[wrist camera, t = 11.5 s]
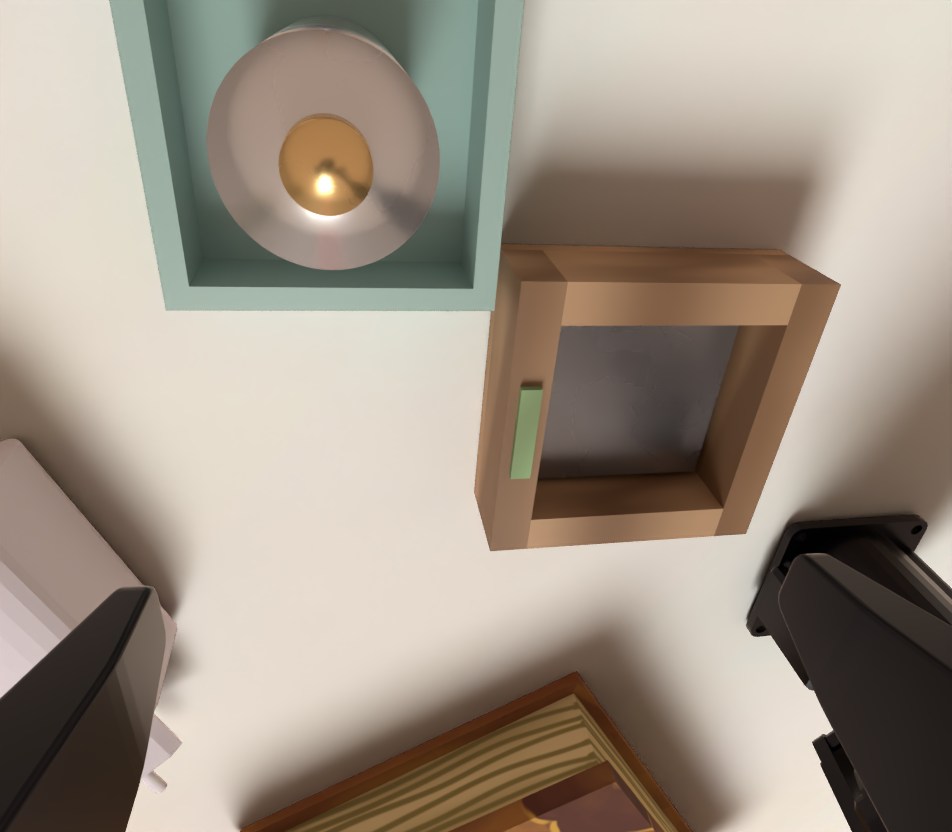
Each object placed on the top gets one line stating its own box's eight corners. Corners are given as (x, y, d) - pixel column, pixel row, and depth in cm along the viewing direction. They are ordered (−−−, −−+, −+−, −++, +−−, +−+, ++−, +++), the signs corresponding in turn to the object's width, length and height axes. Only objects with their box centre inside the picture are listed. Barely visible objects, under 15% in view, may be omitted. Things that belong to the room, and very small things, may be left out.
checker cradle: (780, 249, 21) (845, 287, 18) (705, 480, 25) (748, 537, 23) (497, 244, 19) (523, 284, 16) (474, 492, 24) (491, 555, 21)
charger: (53, 772, 28) (-263, 526, 20) (258, 702, 28) (28, 426, 20) (6, 899, 24) (-414, 658, 16) (245, 818, 24) (-51, 534, 16)
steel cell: (405, 184, 17) (439, 284, 11) (260, 178, 16) (216, 281, 11) (408, 22, 15) (452, 42, 9) (245, 8, 14) (181, 20, 9)
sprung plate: (730, 301, 21) (743, 311, 20) (684, 457, 24) (694, 471, 23) (545, 299, 19) (553, 310, 19) (522, 464, 23) (528, 478, 22)
